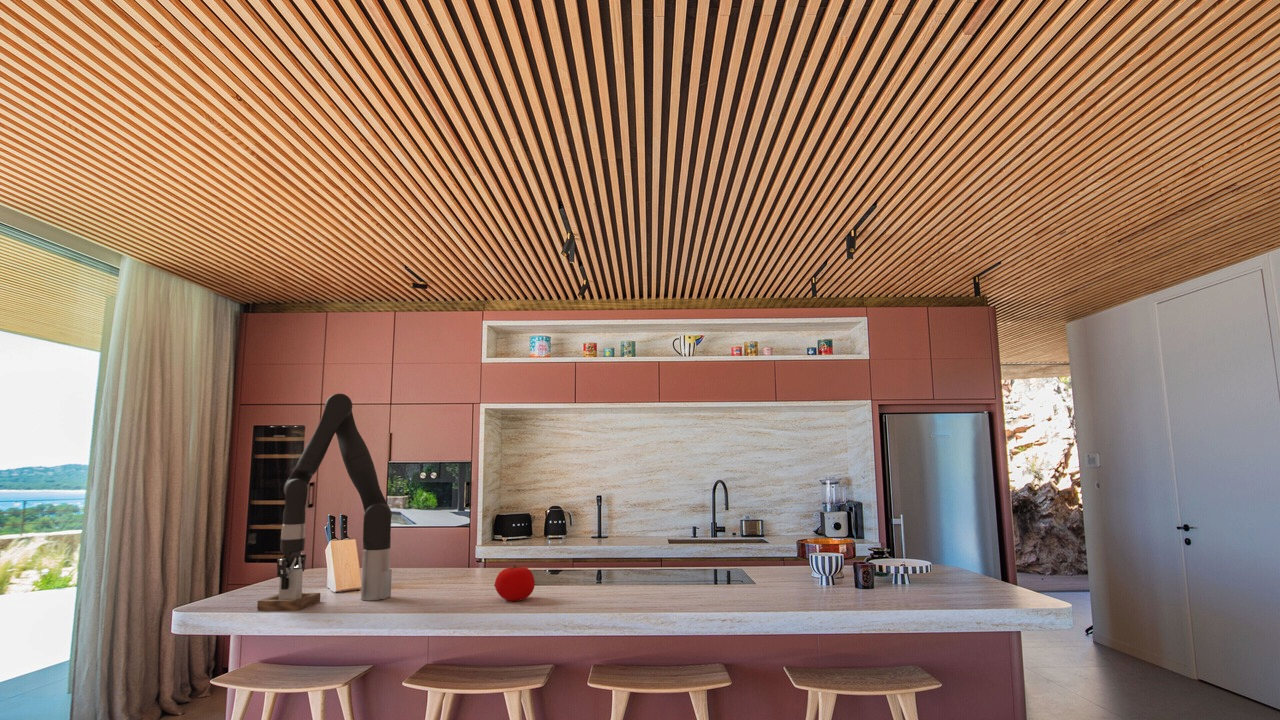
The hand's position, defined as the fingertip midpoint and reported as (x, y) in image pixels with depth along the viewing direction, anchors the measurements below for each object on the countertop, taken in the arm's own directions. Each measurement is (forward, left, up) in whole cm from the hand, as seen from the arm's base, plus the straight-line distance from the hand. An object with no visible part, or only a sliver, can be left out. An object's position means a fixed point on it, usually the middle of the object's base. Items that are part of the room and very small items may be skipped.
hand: (290, 587), depth 240 cm
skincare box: (0, 0, -6) cm, 6 cm away
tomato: (-75, -12, -6) cm, 76 cm away
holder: (0, 0, -6) cm, 6 cm away
